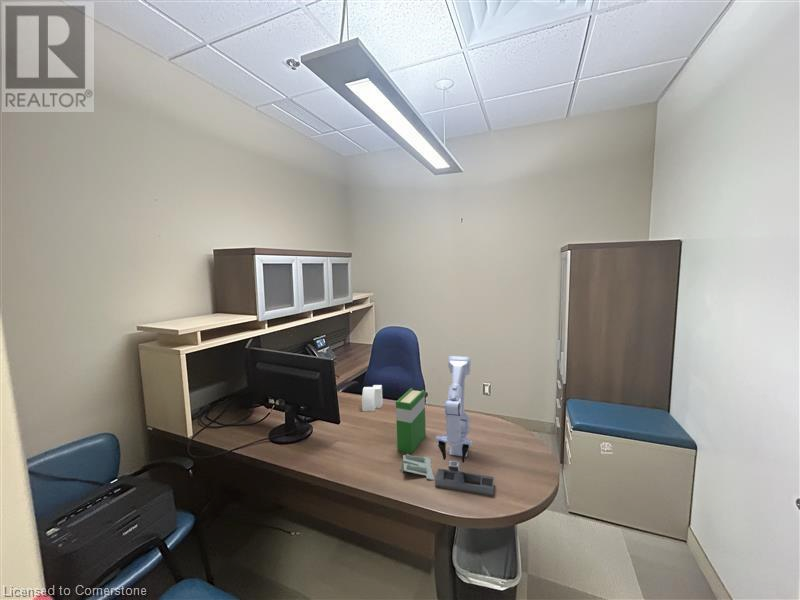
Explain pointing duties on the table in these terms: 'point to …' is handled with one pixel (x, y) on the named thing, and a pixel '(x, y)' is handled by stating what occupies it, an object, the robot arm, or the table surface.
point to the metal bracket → (417, 465)
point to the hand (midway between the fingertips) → (453, 459)
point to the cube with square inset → (454, 466)
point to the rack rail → (458, 478)
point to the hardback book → (410, 420)
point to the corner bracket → (372, 398)
